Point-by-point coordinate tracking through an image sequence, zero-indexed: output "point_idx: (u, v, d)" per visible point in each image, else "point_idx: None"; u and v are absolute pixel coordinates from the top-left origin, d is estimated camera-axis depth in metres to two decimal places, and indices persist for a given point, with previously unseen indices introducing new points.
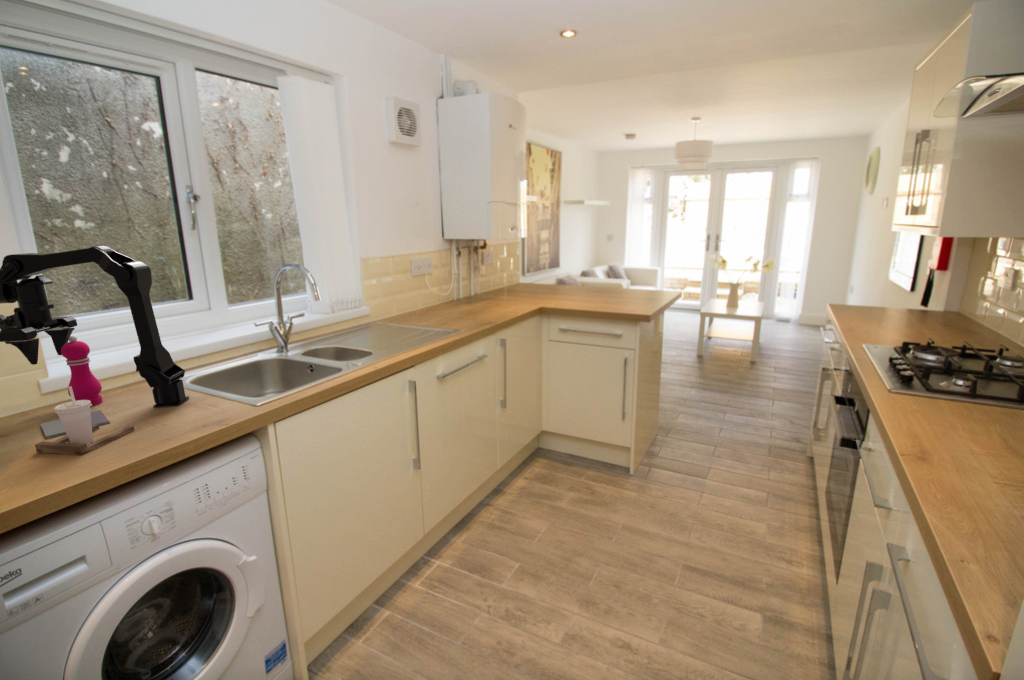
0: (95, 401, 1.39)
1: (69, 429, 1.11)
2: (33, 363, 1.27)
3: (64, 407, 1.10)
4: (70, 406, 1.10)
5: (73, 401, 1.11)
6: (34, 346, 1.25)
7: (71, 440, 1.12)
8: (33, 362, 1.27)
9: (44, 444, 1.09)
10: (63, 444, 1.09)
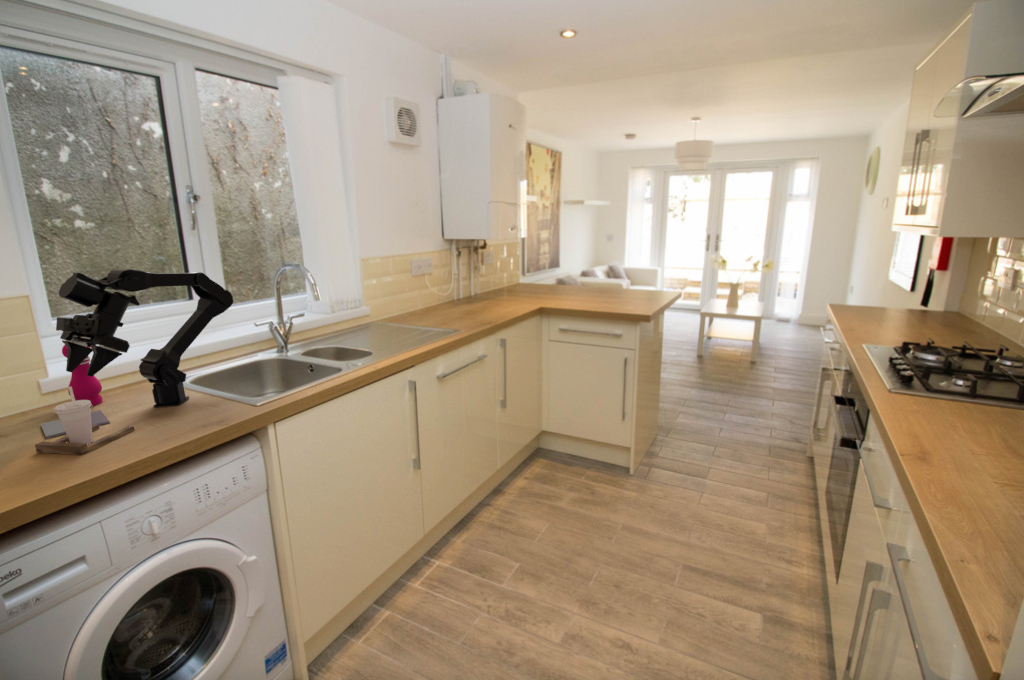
0: (95, 401, 1.39)
1: (69, 429, 1.11)
2: (90, 374, 1.17)
3: (64, 407, 1.10)
4: (70, 406, 1.10)
5: (73, 401, 1.11)
6: None
7: (71, 440, 1.12)
8: (90, 374, 1.17)
9: (44, 444, 1.09)
10: (63, 444, 1.09)
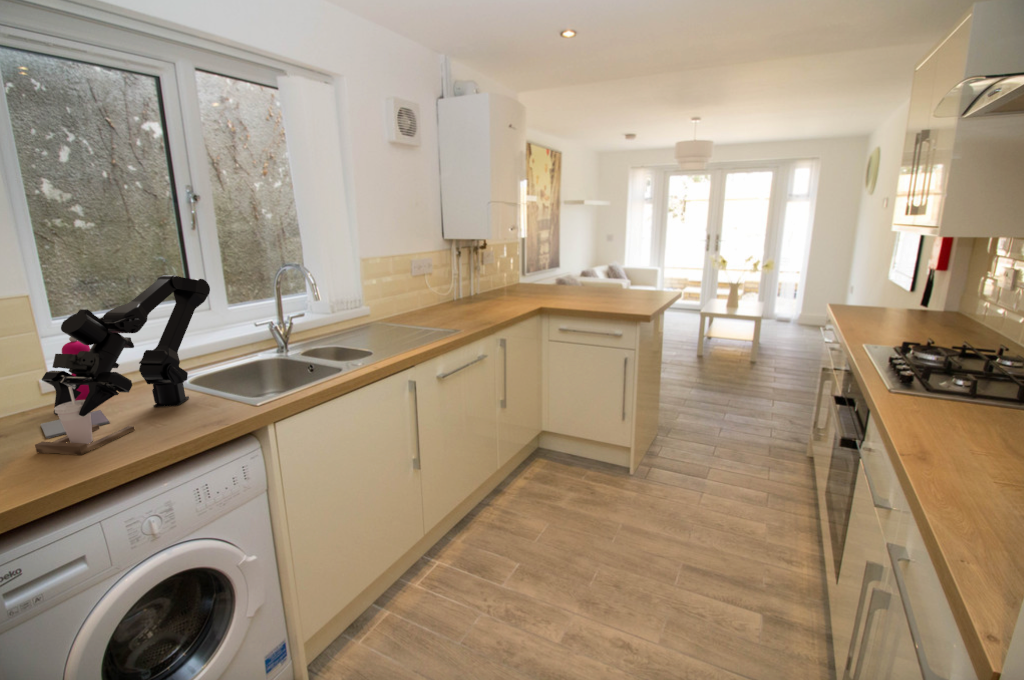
0: None
1: (69, 429, 1.11)
2: (83, 414, 1.11)
3: (64, 407, 1.10)
4: (70, 406, 1.10)
5: (73, 401, 1.11)
6: None
7: (71, 440, 1.12)
8: (83, 413, 1.11)
9: (44, 444, 1.09)
10: (63, 444, 1.09)
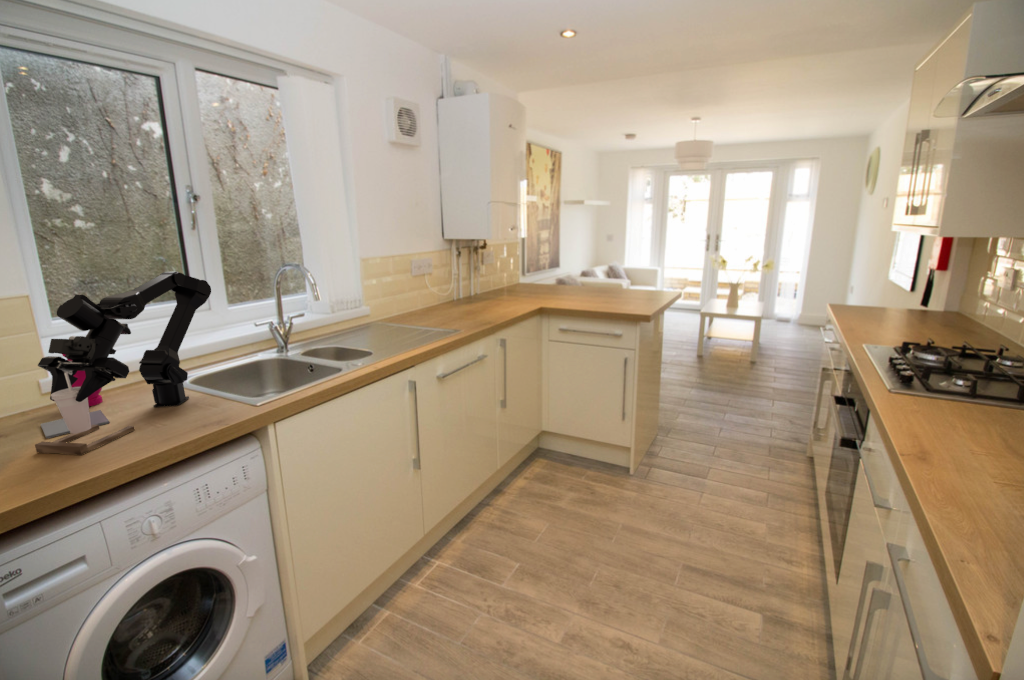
0: (95, 401, 1.39)
1: (66, 415, 1.10)
2: (79, 400, 1.10)
3: (60, 393, 1.10)
4: (66, 392, 1.10)
5: (69, 387, 1.11)
6: None
7: (69, 427, 1.11)
8: (79, 399, 1.10)
9: (44, 444, 1.09)
10: (63, 444, 1.09)
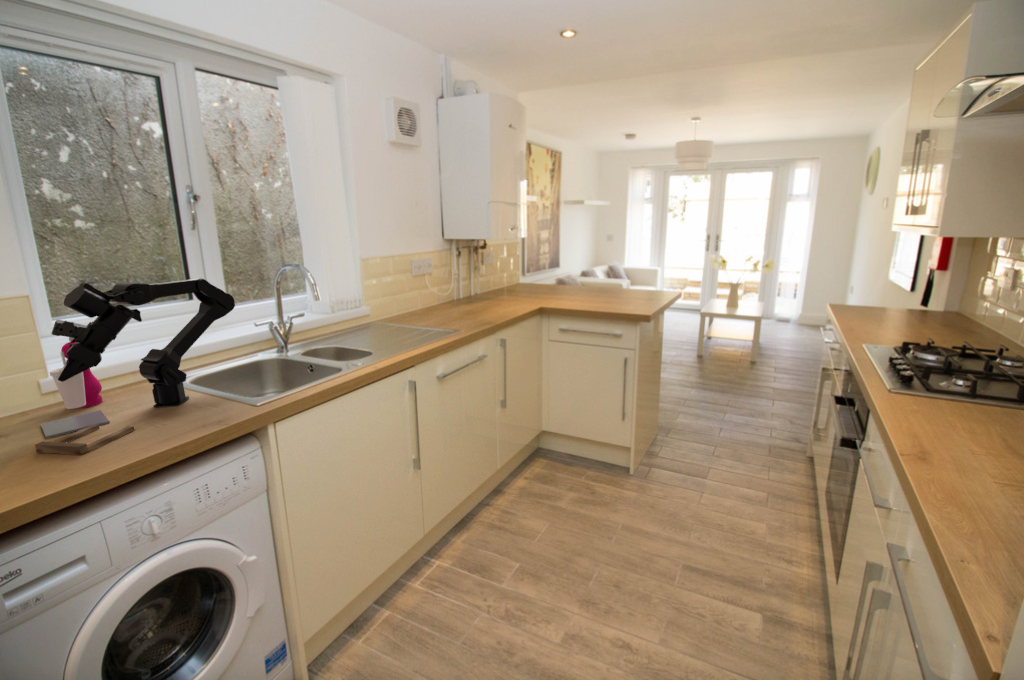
0: (95, 401, 1.39)
1: None
2: (61, 380, 1.17)
3: (58, 370, 1.20)
4: (59, 370, 1.19)
5: (64, 366, 1.19)
6: (86, 369, 1.19)
7: None
8: (61, 379, 1.17)
9: (44, 444, 1.09)
10: (63, 444, 1.09)
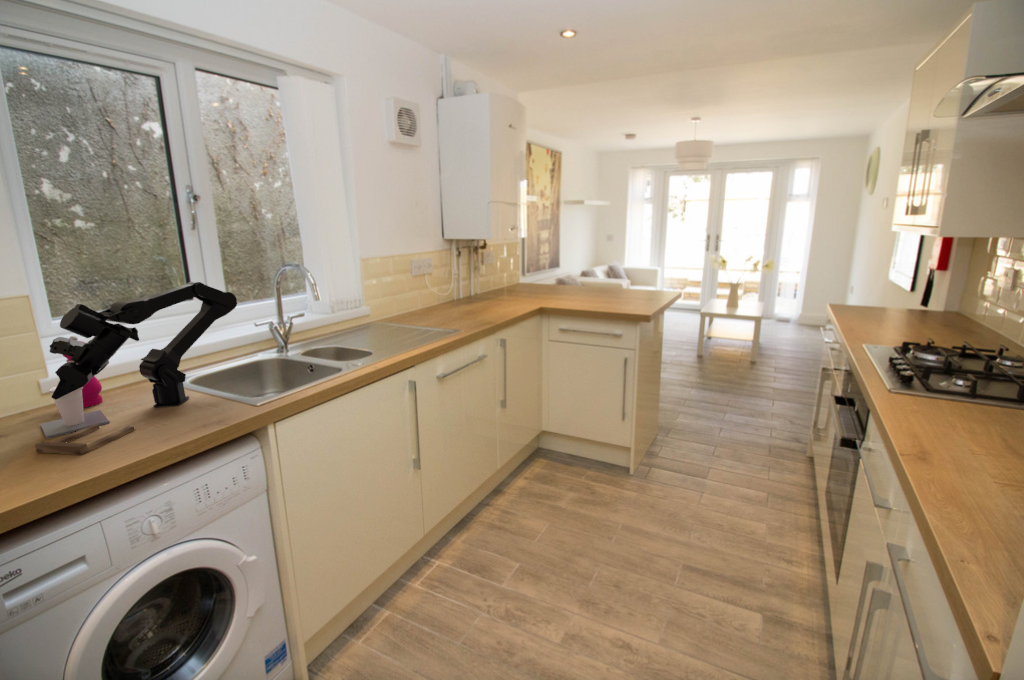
0: (95, 401, 1.39)
1: None
2: (54, 397, 1.19)
3: None
4: None
5: None
6: None
7: None
8: (55, 397, 1.19)
9: (44, 444, 1.09)
10: (63, 444, 1.09)
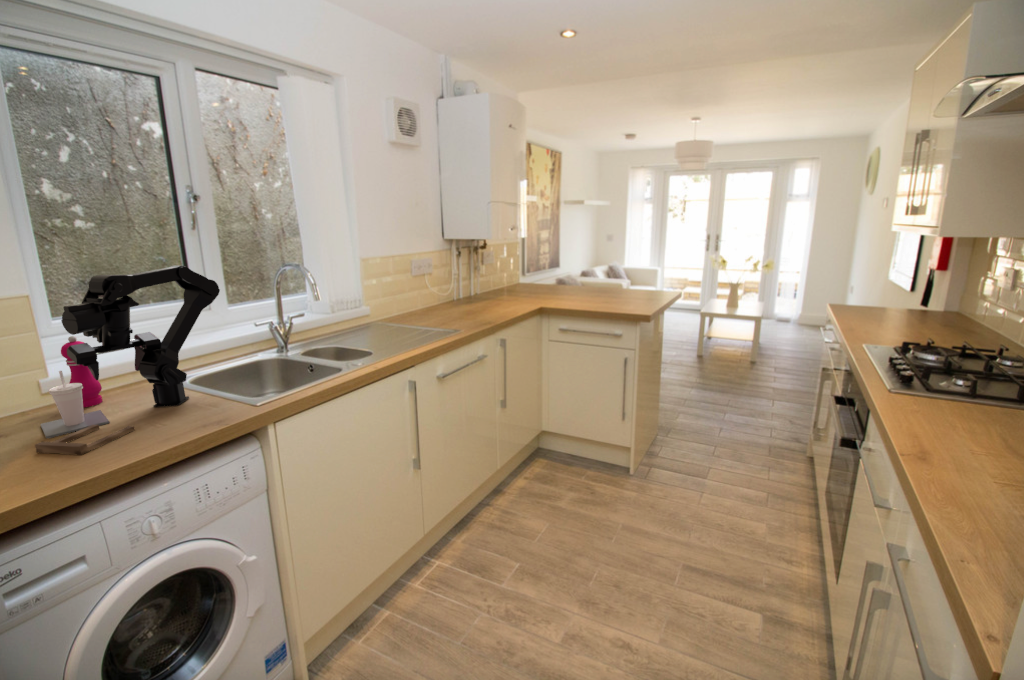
0: (95, 401, 1.39)
1: None
2: (95, 378, 1.27)
3: (58, 387, 1.22)
4: (57, 388, 1.21)
5: (62, 384, 1.22)
6: (92, 368, 1.23)
7: None
8: (95, 378, 1.27)
9: (44, 444, 1.09)
10: (63, 444, 1.09)
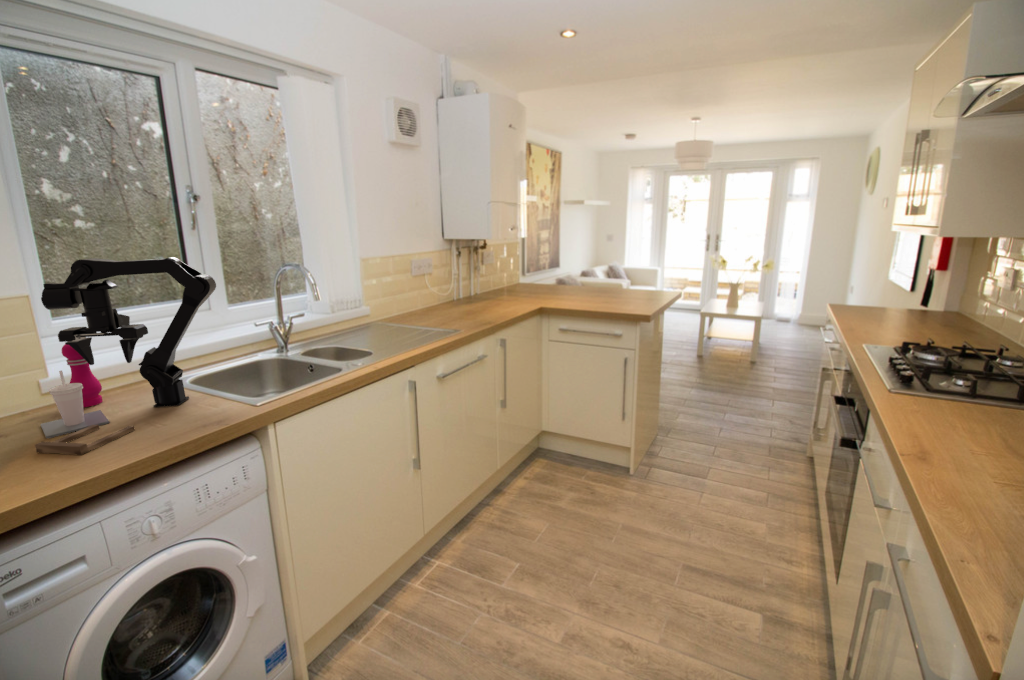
0: (95, 401, 1.39)
1: None
2: None
3: (58, 387, 1.22)
4: (57, 388, 1.21)
5: (62, 384, 1.22)
6: (74, 349, 1.28)
7: None
8: None
9: (44, 444, 1.09)
10: (63, 444, 1.09)
